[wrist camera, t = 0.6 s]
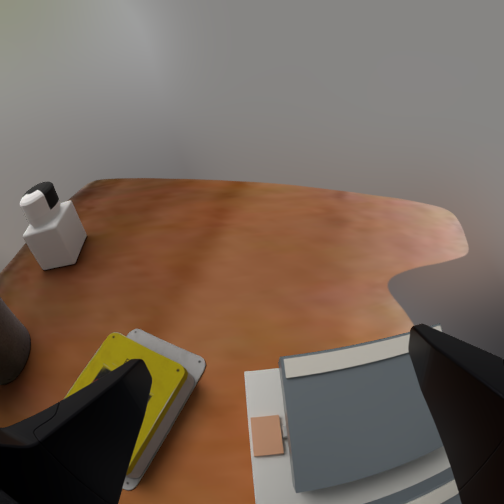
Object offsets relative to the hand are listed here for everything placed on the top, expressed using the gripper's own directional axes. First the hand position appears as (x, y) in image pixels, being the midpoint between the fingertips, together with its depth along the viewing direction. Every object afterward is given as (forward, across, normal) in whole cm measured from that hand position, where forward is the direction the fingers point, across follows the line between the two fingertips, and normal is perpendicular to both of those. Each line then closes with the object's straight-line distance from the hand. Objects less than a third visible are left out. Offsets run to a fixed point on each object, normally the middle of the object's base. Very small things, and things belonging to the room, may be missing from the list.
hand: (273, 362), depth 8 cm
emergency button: (+8, +15, +11) cm, 20 cm away
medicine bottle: (+26, +34, 0) cm, 42 cm away
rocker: (+5, -5, +10) cm, 13 cm away
